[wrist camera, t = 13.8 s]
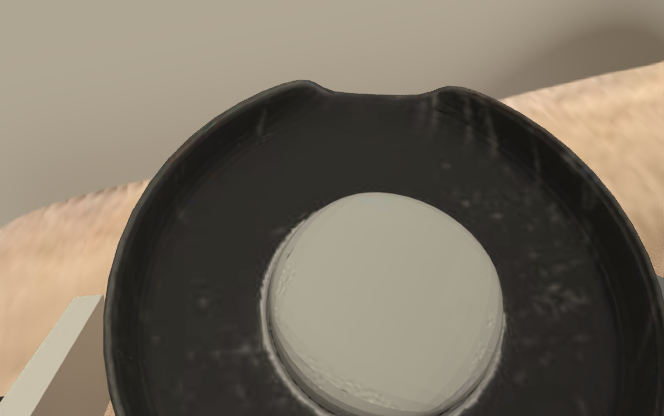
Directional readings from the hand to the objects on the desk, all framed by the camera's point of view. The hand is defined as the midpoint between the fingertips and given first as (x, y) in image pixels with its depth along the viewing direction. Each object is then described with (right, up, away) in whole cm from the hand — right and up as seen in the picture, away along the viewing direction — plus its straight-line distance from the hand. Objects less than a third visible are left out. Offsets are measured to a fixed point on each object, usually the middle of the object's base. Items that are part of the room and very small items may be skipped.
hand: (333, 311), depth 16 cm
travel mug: (-1, -7, +9) cm, 11 cm away
